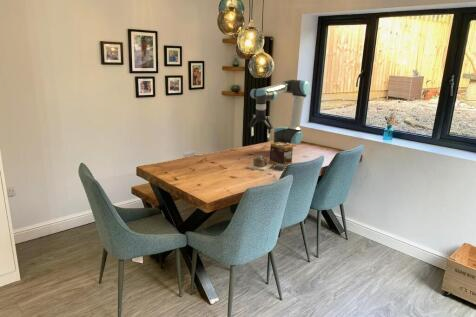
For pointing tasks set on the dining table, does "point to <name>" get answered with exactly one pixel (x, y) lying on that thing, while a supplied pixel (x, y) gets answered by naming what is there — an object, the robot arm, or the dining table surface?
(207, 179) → the dining table surface
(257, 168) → the white post holder
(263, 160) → the brown block
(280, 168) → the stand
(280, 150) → the supplement box
